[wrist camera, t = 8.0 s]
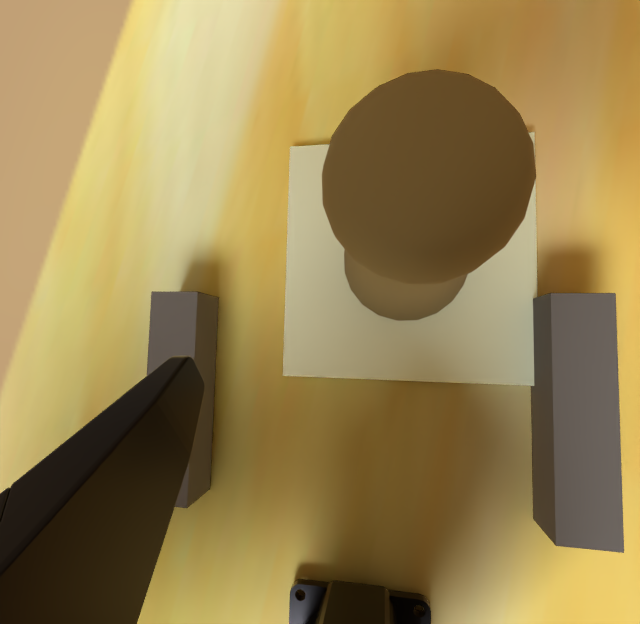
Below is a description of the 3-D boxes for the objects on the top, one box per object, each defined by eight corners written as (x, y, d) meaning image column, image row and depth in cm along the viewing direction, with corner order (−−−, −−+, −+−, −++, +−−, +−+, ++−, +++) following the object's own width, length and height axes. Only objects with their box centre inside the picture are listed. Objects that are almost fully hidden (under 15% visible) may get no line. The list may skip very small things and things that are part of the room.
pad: (535, 385, 18) (539, 386, 18) (284, 375, 20) (282, 375, 20) (531, 136, 19) (534, 131, 19) (291, 150, 21) (289, 146, 21)
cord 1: (591, 524, 17) (624, 552, 15) (533, 518, 18) (556, 545, 15) (585, 299, 18) (615, 293, 16) (529, 299, 19) (550, 293, 16)
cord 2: (210, 489, 20) (186, 508, 18) (167, 485, 21) (139, 503, 18) (218, 297, 21) (197, 291, 19) (177, 297, 22) (151, 291, 19)
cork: (356, 331, 19) (317, 316, 9) (333, 215, 20) (271, 64, 9) (482, 307, 18) (617, 256, 8) (454, 186, 19) (543, -18, 8)
